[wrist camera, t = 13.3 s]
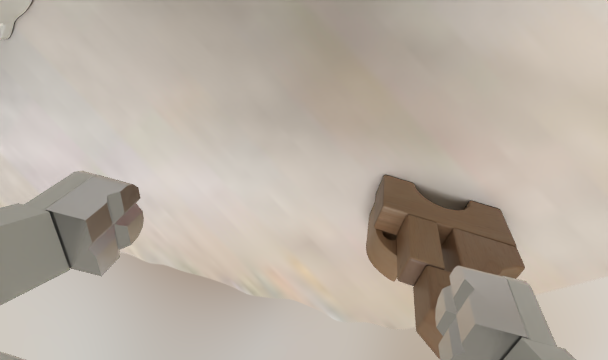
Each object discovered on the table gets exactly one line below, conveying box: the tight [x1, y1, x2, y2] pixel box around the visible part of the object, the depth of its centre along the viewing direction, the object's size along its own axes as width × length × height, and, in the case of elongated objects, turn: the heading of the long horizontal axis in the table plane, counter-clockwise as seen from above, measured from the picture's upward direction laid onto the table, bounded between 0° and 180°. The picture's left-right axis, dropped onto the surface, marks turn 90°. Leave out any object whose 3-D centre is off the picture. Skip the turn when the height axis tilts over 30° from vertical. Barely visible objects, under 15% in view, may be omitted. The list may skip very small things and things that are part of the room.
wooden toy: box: [366, 175, 525, 359], centre depth 31 cm, size 15×7×25 cm, turn 78°
